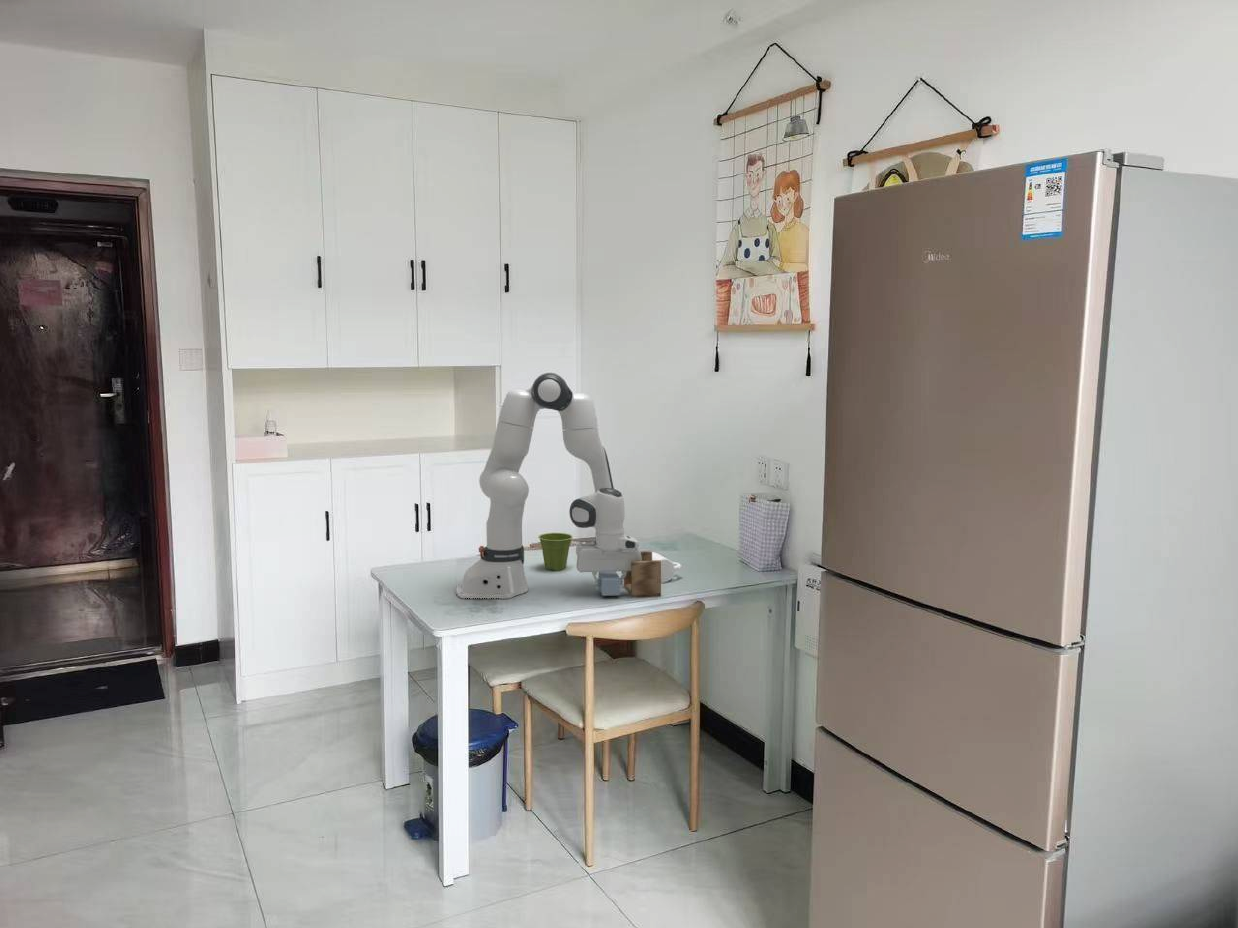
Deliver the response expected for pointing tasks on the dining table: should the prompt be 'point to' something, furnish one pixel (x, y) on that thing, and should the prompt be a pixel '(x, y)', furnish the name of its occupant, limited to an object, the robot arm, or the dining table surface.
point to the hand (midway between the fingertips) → (609, 584)
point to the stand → (644, 577)
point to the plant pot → (555, 549)
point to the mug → (666, 567)
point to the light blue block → (609, 583)
